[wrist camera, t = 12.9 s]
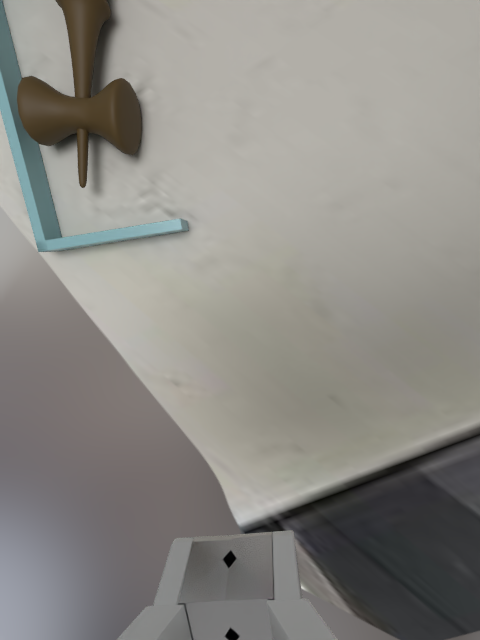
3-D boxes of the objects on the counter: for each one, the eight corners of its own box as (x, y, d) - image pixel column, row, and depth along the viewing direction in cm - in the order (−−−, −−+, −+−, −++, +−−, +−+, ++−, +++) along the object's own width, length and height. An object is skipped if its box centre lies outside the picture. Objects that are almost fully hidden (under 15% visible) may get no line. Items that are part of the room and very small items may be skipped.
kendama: (150, -29, 31) (142, 197, 35) (51, -33, 31) (55, 189, 35) (122, -96, 25) (116, 185, 29) (1, -99, 26) (12, 176, 30)
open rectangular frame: (137, -68, 30) (123, -102, 27) (188, 230, 35) (182, 229, 32) (-16, -29, 31) (-45, -57, 28) (56, 251, 37) (38, 251, 34)
